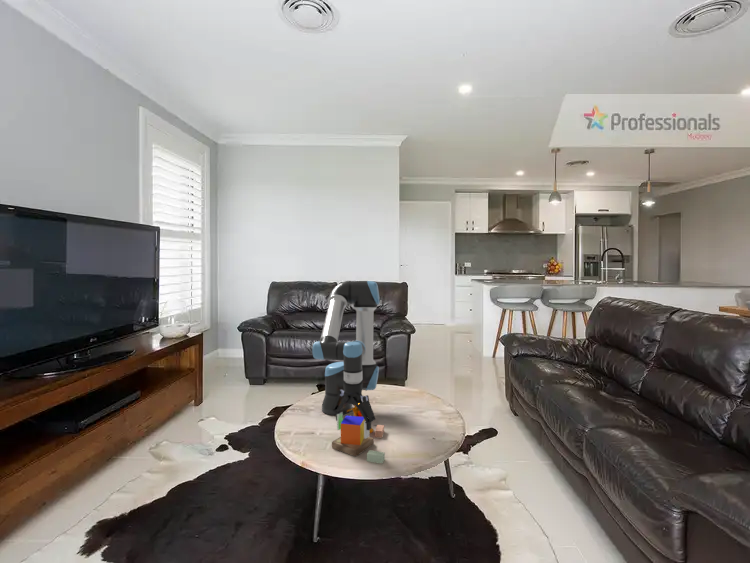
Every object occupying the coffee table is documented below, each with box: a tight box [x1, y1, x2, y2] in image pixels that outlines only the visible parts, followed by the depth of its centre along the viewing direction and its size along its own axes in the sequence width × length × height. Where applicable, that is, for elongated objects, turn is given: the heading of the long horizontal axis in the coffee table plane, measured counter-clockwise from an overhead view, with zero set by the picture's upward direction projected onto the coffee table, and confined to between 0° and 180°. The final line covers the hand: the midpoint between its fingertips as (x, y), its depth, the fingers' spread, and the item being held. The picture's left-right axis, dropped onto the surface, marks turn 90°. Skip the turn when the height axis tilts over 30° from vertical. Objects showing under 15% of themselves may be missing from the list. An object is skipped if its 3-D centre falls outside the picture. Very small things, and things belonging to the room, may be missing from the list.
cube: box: [340, 415, 365, 445], centre depth 157 cm, size 8×8×8 cm
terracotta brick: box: [374, 424, 385, 439], centre depth 168 cm, size 6×3×3 cm, turn 171°
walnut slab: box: [331, 436, 375, 457], centre depth 157 cm, size 12×12×3 cm
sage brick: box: [366, 449, 386, 464], centre depth 146 cm, size 6×3×3 cm, turn 71°
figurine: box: [347, 403, 375, 434], centre depth 171 cm, size 8×11×12 cm
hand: (353, 432), depth 157 cm, fingers open, 13 cm apart
